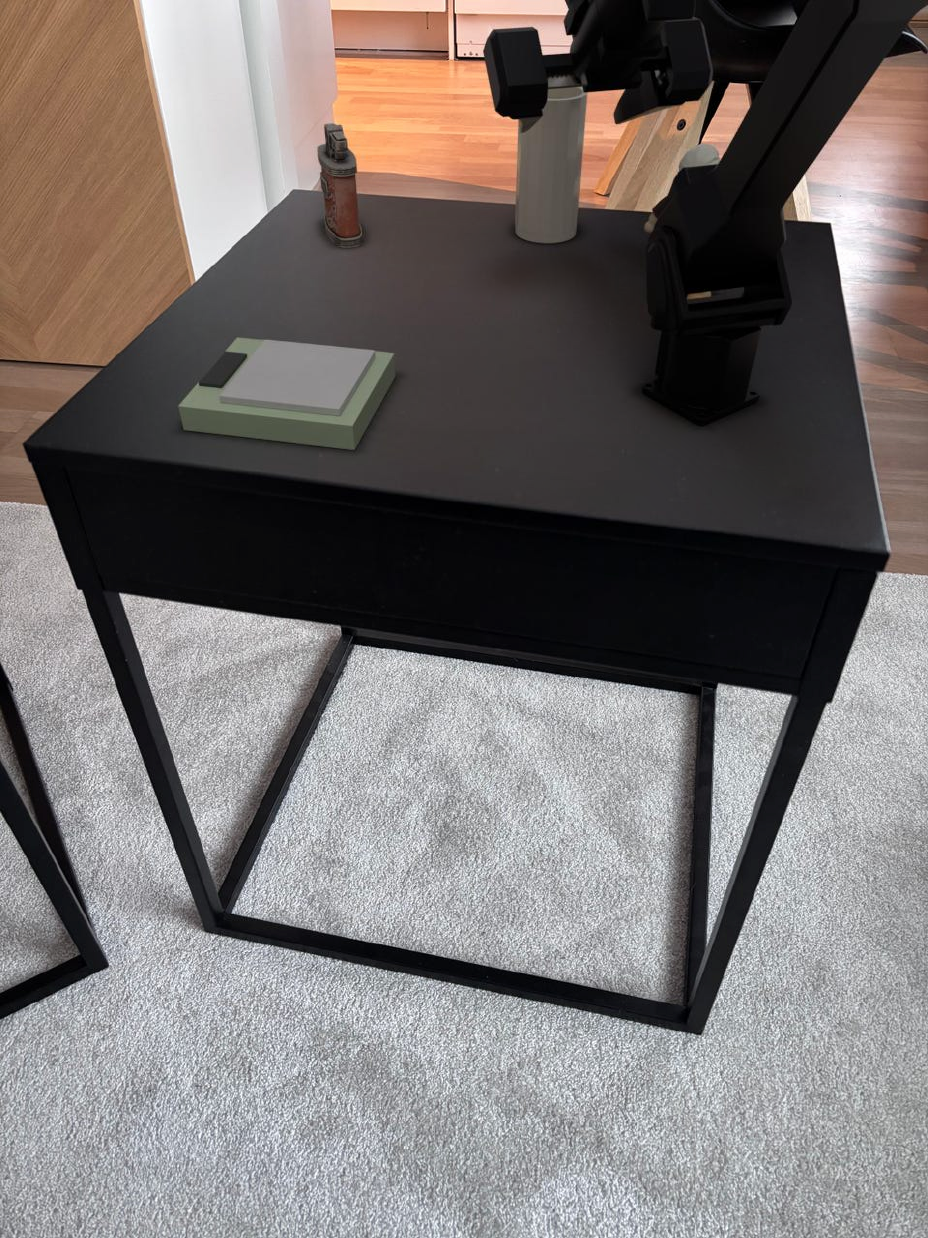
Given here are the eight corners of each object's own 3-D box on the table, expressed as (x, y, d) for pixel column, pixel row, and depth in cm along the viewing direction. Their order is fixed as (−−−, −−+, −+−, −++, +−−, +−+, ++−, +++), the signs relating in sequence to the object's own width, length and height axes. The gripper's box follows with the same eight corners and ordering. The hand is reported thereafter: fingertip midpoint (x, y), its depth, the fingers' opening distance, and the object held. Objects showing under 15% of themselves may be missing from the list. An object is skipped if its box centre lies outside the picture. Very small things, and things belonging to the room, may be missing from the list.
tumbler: (589, 234, 96) (601, 92, 88) (541, 248, 94) (549, 103, 85) (549, 216, 100) (557, 78, 91) (502, 229, 97) (506, 88, 89)
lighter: (319, 221, 99) (308, 116, 92) (351, 217, 100) (342, 113, 93) (335, 249, 94) (324, 140, 87) (368, 245, 94) (360, 137, 88)
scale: (395, 376, 74) (393, 345, 73) (354, 450, 66) (351, 417, 65) (241, 360, 76) (235, 329, 75) (183, 430, 69) (176, 398, 67)
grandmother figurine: (719, 287, 87) (747, 138, 78) (724, 305, 84) (753, 152, 75) (635, 284, 87) (653, 136, 79) (637, 302, 84) (656, 150, 76)
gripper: (723, -104, 73) (645, 31, 88) (492, -96, 69) (453, 44, 84) (751, 36, 73) (669, 147, 88) (521, 52, 69) (477, 165, 84)
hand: (569, 123), depth 86 cm, fingers open, 9 cm apart
